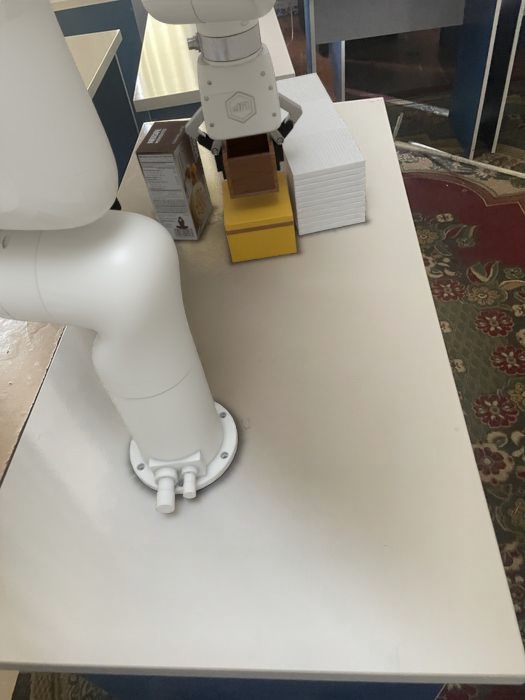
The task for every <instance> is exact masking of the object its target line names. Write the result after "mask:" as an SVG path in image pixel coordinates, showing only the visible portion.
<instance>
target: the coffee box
mask: <svg viewBox="0 0 525 700" xmlns="http://www.w3.org/2000/svg"><path fill="white" fill-rule="evenodd" d="M189 120H190V119H187V120H186V119H185V120H167V121H154V122H153V124H152V125H151V126H150V128H149V130H148V131H147V133H146V135H144V138H143V139H142V141H141V143H139V145H138V147H137V148H136V150H135V152H134V153H135V156H136V159H137V162H138V165H139V168H140V171H141V174H142V177H143V180H144V184H145V187H146V189H147V192H148V195H149V198H150V201H151V204H152V207H153V210H154V214H155V216H156V220H157V222H158V223H160V224H161V225H162V226H163V227H165V228H166V230H167V231H168V232H169V233H170V235H171V236H172V238H173V240H174V241H175V240H176V241H198V240H200V237H201V236H202V233H203V231H204V229H205V226H206V225H207V222H208V220H209V217H210V215H211V212H212V211H213V208H214V207H213V204H212V199H211V195H210V194H211V193H210V191H209V187H208V181H207V177H206V173H205V168H204V165H203V161H202V157H201V152H200V148H199V143H198V142H197V141H196V140H194V139H193V138H192V137H190V136H189V135H188V134H186V132H185V125H186V124H187V123H188V121H189Z"/></svg>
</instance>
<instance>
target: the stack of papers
mask: <svg viewBox="0 0 525 700" xmlns="http://www.w3.org/2000/svg"><path fill="white" fill-rule="evenodd" d="M276 83H277V89H278V92H279V93H280V94H282V95H284V96H285V97H287V98H289V99H290V100H292V101H294V102H295V103H297V104H299V105H300V106H301V108H302V111H303V113H302V115H301V116H300V118H299V119H298V121H297V122H296V123H295V125H294V127H293V129H292V130H291V132H290V133H289V134H288V135H287V137H286V138H285V139H284V143H283V144H282V145H283V153H284V161H283V162H280V168H281V171H277V172H282V171H284V172H285V177H286V182H287V187H288V193H289V198H290V203H291V208H292V213H293V219H294V225H295V226H296V231H297V233H298V236H302V235H308V234H312V233H316V232H322V231H327V230H333V229H336V228H342V227H346V226H350V225H351V226H352V225H356V224H359V223H360V224H361V223H365V222H366V158H365V156H364V155H363V153H362V152H361V150H360V147H359V146H358V145H357V142H356V141H355V139H354V137H353V136H352V134H351V132H350V131H349V129H348V127H347V125H346V123H345V121H344V120H343V118H342V115H341V114H340V113H339V111H338V109H337V107H336V105H335V103H334V102H333V100H332V98H331V96H330V95H329V93H328V92H327V91H328V90H327V89H326V87H325V86H324V84H323V82H322V80H321V79H320V77H319V75H318V74H317V72H313V73H308V74H304V75H298V76H294V77H293V76H292V77H289V78H284V79H279V80H276ZM280 110H281V123H282V121H283V120H284V119H285V118H286V117H287V116H288V114H289V113H288V112H287V111H285V110H283V109H282V108H280Z"/></svg>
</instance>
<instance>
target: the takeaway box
mask: <svg viewBox="0 0 525 700" xmlns="http://www.w3.org/2000/svg"><path fill="white" fill-rule="evenodd" d="M277 175H278V183H279V192H274V193H268V194H262V195H256V196H249V197H243V198H237V199H231V198H230V193H229V189H228V184H227V179H226V180H222V181H221V185H222V203H223V204H222V205H223V206H222V207H223V223H224V224H223V225H224V229H225V230H224V231H225V235H226V239H227V243H228V247H229V252H230V257H231V262H232V263H238V262H246V261H252V260H258V259H265V258H270V257H278V256H284V255H290V254H291V255H292V254H296V253H298V249H297V239H296V231H295V221H294V218H293V213H292V208H291V203H290V198H289V193H288V187H287V182H286V177H285V172H284V171H282V172H277Z"/></svg>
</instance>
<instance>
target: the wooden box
mask: <svg viewBox="0 0 525 700" xmlns="http://www.w3.org/2000/svg"><path fill="white" fill-rule="evenodd" d="M222 153H223V164H224V169H225V174H226V180H227V184H228V189H229V193H230V198H231V199H237V198H243V197H249V196H256V195H262V194H268V193H274V192H279V183H278V175H277V167H276V160H275V152H274V147H273V141H272V137H271V135H270V134H269V133H263V134H258V135H252V136H246V137H240V138H234V139H227V140H223V143H222Z"/></svg>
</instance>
